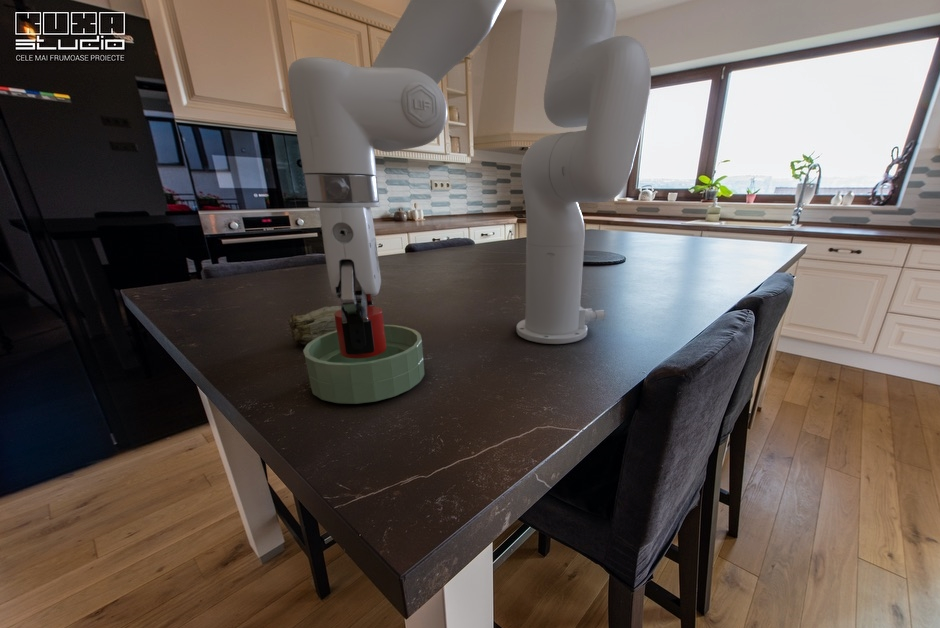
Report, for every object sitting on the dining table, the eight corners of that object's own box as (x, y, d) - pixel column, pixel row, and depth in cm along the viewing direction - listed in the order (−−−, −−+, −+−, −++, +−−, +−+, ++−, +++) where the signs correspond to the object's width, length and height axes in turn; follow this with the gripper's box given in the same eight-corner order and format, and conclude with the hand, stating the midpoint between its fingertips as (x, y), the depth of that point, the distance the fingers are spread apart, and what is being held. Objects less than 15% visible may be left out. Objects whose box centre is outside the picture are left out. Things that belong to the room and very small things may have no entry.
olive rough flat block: (300, 355, 61) (293, 322, 59) (287, 338, 68) (280, 308, 66) (390, 335, 69) (387, 305, 67) (370, 322, 76) (366, 295, 74)
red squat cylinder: (387, 341, 54) (382, 297, 52) (385, 356, 49) (380, 308, 47) (343, 344, 53) (336, 299, 51) (337, 360, 48) (329, 311, 46)
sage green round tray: (422, 355, 61) (419, 321, 59) (427, 399, 48) (423, 357, 46) (322, 364, 57) (316, 329, 56) (299, 414, 45) (290, 370, 43)
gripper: (373, 194, 37) (391, 367, 44) (382, 193, 53) (394, 321, 59) (286, 193, 36) (318, 374, 42) (321, 193, 51) (341, 325, 58)
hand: (363, 342), depth 51 cm, fingers closed on red squat cylinder, 5 cm apart
